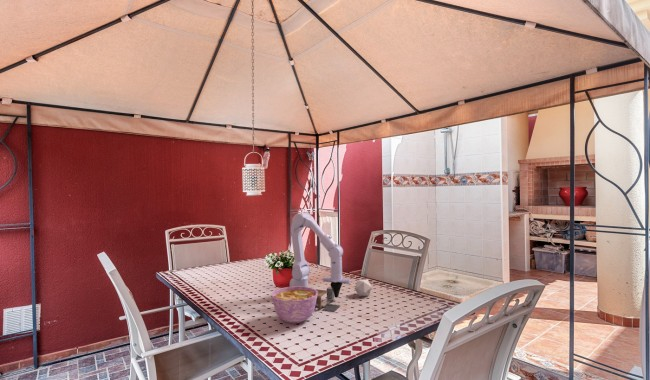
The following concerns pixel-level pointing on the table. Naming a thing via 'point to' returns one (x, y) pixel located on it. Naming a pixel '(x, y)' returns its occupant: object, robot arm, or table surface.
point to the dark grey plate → (331, 308)
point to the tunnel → (320, 294)
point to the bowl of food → (294, 303)
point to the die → (363, 288)
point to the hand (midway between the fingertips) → (336, 296)
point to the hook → (329, 297)
